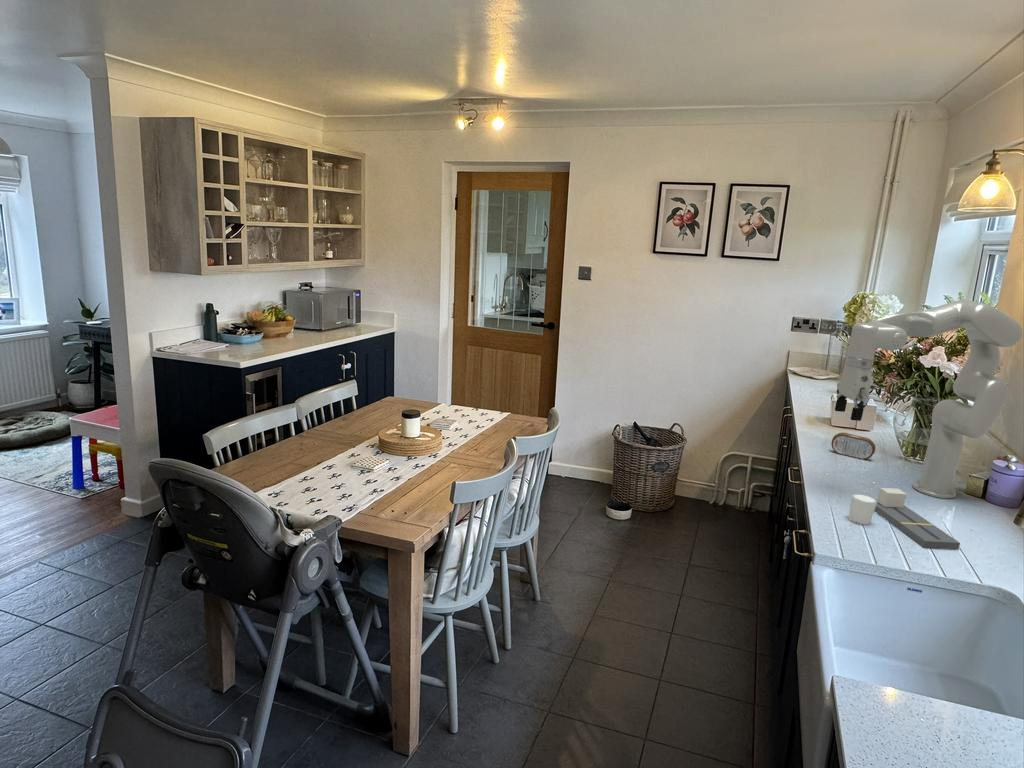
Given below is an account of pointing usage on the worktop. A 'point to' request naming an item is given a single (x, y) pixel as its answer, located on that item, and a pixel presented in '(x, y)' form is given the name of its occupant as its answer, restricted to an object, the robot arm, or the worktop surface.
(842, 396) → the robot arm
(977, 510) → the worktop surface
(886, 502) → the fader knob
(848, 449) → the tin
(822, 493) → the worktop surface
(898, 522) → the fader track
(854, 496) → the white cylinder
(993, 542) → the worktop surface
